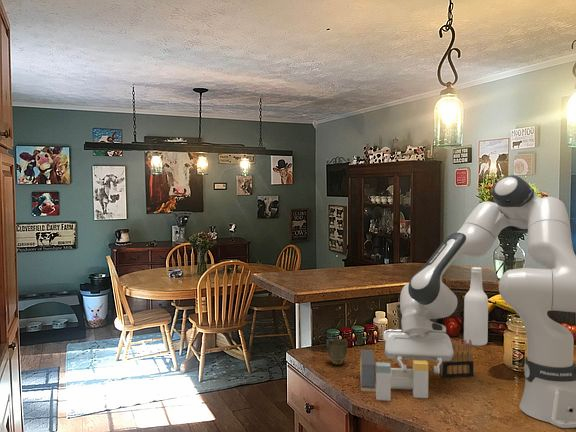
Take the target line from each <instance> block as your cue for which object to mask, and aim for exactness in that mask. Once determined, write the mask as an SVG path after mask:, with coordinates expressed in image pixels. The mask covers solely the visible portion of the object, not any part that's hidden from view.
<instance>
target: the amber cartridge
mask: <svg viewBox="0 0 576 432" xmlns="http://www.w3.org/2000/svg"><path fill="white" fill-rule="evenodd" d="M412 369H413V389H412V395H413V396H412V397H413V398H415V399H416V398H418V399H419V398H420V399H428V398H429V362H428V360H412Z"/></svg>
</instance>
